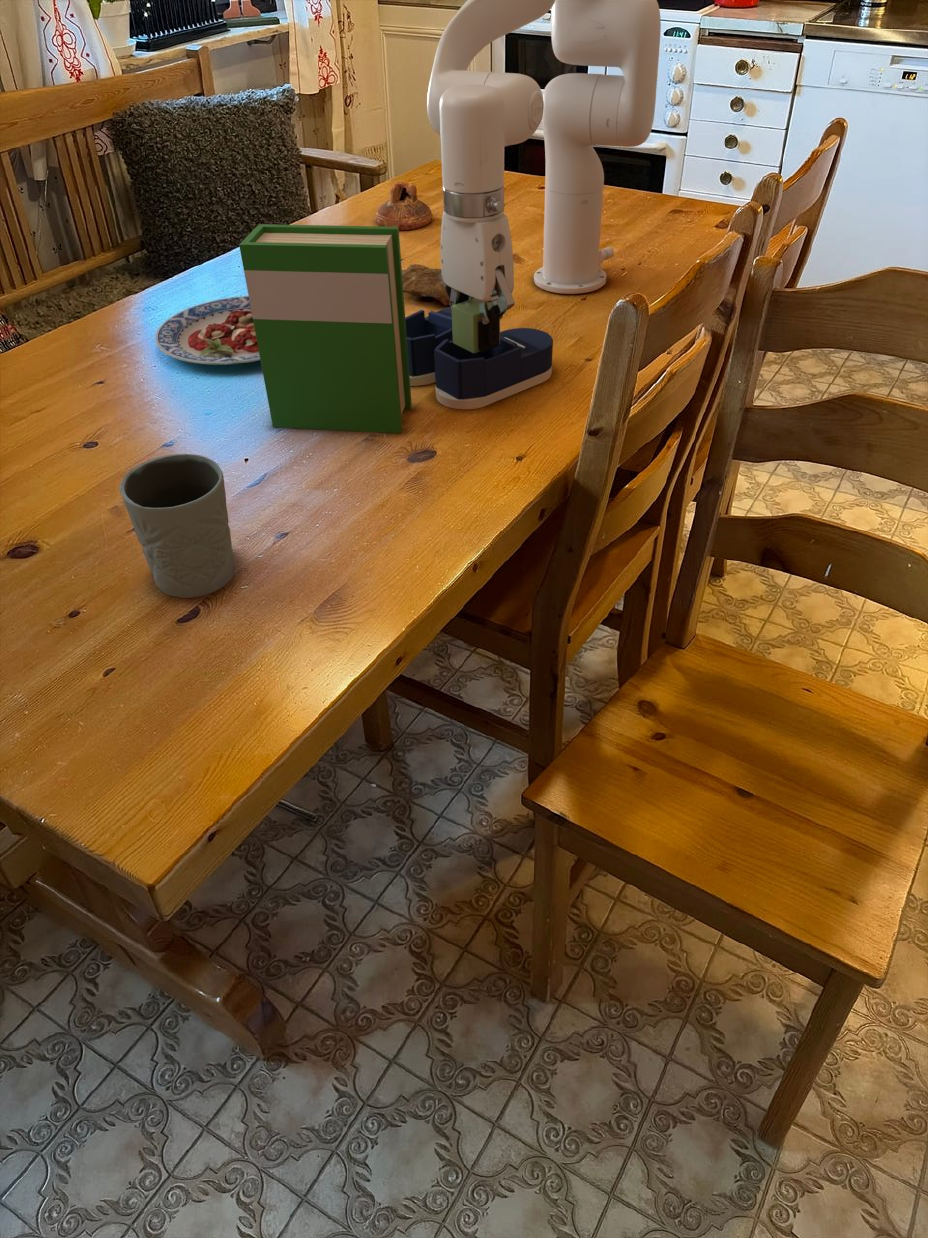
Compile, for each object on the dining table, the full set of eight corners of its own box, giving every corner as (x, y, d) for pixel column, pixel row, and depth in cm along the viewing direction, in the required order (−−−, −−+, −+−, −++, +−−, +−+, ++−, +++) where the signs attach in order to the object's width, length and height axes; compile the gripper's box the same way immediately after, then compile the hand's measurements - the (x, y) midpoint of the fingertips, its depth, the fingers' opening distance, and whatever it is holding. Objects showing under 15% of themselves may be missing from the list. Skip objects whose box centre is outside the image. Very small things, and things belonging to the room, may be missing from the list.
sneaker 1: (459, 332, 145) (457, 289, 140) (501, 346, 140) (501, 301, 136) (374, 375, 134) (370, 329, 130) (418, 391, 130) (414, 345, 125)
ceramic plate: (242, 297, 159) (239, 279, 157) (355, 328, 147) (353, 310, 145) (123, 351, 143) (118, 333, 141) (239, 391, 131) (235, 372, 129)
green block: (478, 333, 127) (478, 296, 124) (500, 343, 124) (499, 306, 121) (452, 342, 125) (451, 305, 122) (473, 353, 122) (472, 315, 119)
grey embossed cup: (180, 540, 104) (153, 447, 96) (261, 554, 101) (240, 459, 93) (131, 595, 96) (98, 499, 88) (216, 611, 94) (190, 513, 86)
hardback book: (411, 406, 126) (398, 226, 111) (401, 433, 121) (385, 247, 105) (288, 401, 129) (259, 223, 113) (272, 427, 123) (239, 244, 107)
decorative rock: (378, 303, 156) (460, 316, 152) (376, 279, 153) (459, 292, 149) (405, 276, 163) (483, 288, 159) (403, 253, 160) (483, 265, 156)
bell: (438, 213, 191) (437, 176, 186) (423, 232, 182) (421, 193, 177) (385, 211, 193) (382, 174, 188) (368, 229, 184) (364, 191, 179)
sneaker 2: (524, 354, 138) (525, 310, 133) (564, 373, 133) (566, 327, 128) (423, 393, 129) (420, 347, 125) (461, 415, 124) (460, 368, 119)
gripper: (542, 209, 109) (538, 354, 121) (455, 181, 120) (459, 316, 132) (494, 223, 106) (495, 371, 118) (408, 192, 116) (417, 331, 128)
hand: (476, 340), depth 125 cm, fingers closed on green block, 4 cm apart
